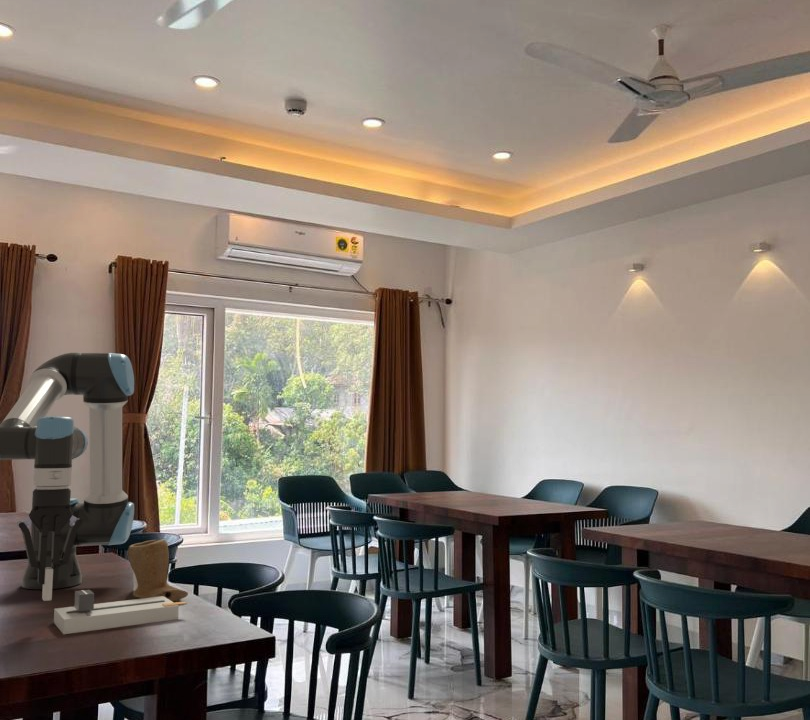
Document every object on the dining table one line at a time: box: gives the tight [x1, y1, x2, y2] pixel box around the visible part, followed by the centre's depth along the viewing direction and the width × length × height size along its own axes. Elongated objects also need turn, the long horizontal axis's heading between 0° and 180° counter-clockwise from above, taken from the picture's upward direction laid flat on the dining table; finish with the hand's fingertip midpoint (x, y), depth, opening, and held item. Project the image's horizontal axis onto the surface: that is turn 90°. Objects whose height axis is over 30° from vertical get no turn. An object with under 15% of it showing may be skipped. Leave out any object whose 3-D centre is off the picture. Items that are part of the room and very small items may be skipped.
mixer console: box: [53, 596, 187, 635], centre depth 172 cm, size 12×26×3 cm, turn 124°
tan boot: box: [127, 538, 189, 603], centre depth 193 cm, size 15×12×15 cm
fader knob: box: [74, 589, 95, 612], centre depth 168 cm, size 5×3×4 cm, turn 34°
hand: (46, 599), depth 163 cm, fingers closed
